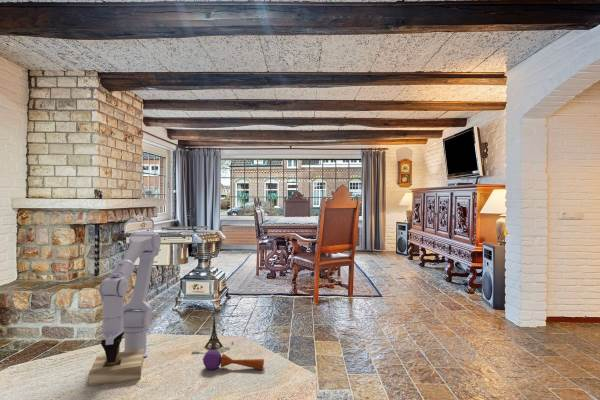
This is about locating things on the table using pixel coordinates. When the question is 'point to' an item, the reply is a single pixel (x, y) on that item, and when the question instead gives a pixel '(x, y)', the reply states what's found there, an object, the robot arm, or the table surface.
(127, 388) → the table surface
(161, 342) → the table surface
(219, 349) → the eiffel tower figurine
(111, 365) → the peg
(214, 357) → the kendama
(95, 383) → the socket block
